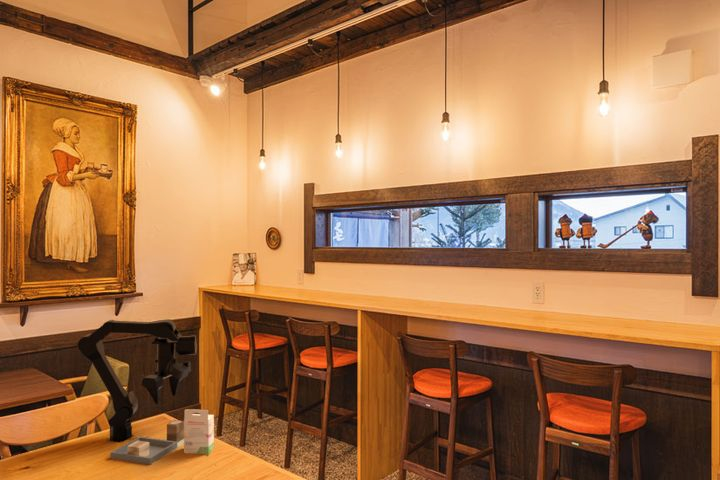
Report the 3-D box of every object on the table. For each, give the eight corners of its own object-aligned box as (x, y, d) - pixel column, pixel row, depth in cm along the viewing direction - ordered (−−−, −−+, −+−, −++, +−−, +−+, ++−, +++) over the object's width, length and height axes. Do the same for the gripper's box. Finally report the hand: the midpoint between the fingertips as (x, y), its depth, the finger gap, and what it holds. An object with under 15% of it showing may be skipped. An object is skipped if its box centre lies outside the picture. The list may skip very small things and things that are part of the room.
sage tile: (155, 445, 165) (155, 443, 165) (172, 435, 174) (172, 433, 174) (178, 448, 162) (178, 447, 162) (194, 438, 171) (194, 436, 171)
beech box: (127, 458, 153) (127, 446, 153) (137, 452, 158) (137, 440, 158) (139, 460, 152) (139, 447, 152) (149, 454, 156) (149, 442, 156)
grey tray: (110, 460, 154) (110, 452, 154) (139, 443, 166) (139, 436, 166) (150, 466, 149) (150, 458, 149) (177, 449, 162) (177, 441, 162)
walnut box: (176, 443, 165) (176, 425, 165) (166, 441, 167) (166, 423, 167) (184, 438, 169) (184, 421, 169) (174, 437, 170) (174, 419, 170)
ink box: (214, 449, 162) (215, 405, 162) (208, 456, 157) (208, 410, 157) (189, 448, 163) (190, 404, 163) (182, 454, 158) (183, 409, 158)
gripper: (167, 363, 161) (167, 410, 161) (201, 351, 179) (201, 393, 179) (140, 361, 165) (139, 407, 165) (175, 349, 182) (175, 391, 182)
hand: (165, 399), depth 173 cm, fingers open, 9 cm apart
